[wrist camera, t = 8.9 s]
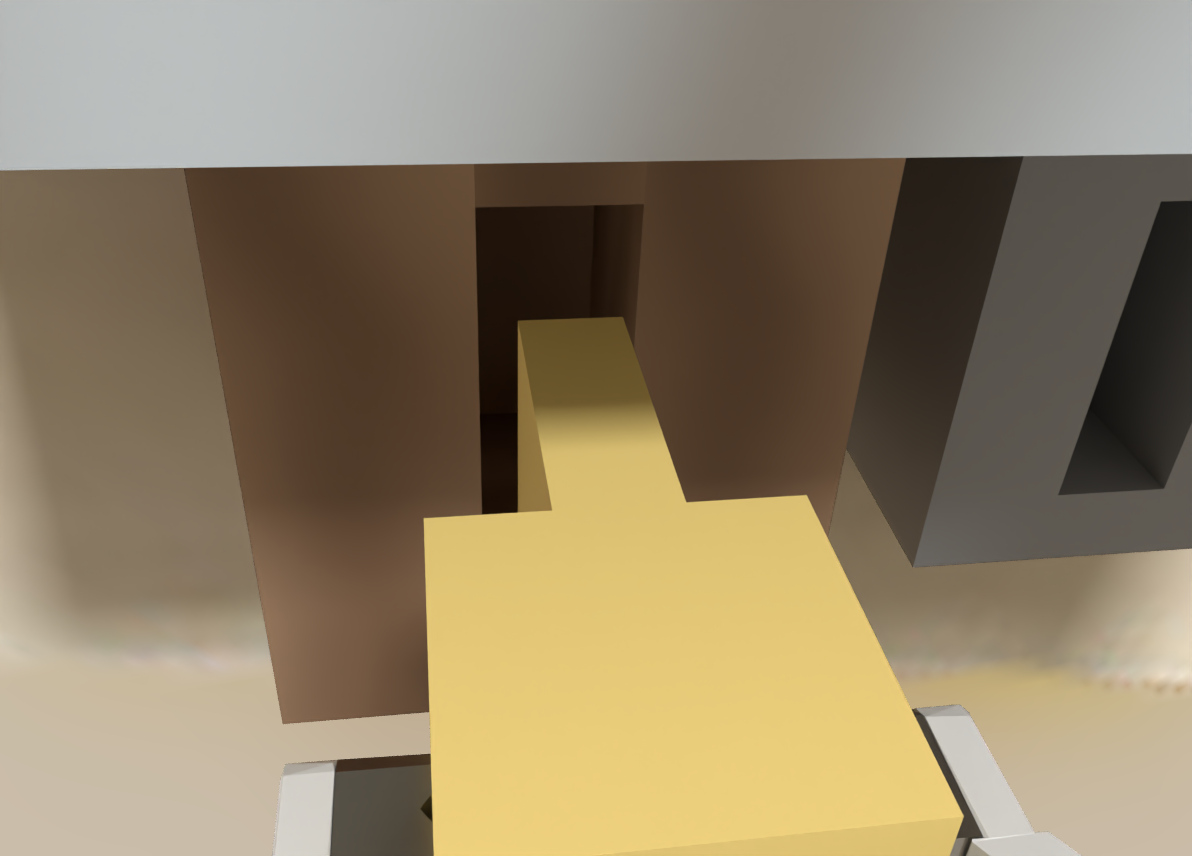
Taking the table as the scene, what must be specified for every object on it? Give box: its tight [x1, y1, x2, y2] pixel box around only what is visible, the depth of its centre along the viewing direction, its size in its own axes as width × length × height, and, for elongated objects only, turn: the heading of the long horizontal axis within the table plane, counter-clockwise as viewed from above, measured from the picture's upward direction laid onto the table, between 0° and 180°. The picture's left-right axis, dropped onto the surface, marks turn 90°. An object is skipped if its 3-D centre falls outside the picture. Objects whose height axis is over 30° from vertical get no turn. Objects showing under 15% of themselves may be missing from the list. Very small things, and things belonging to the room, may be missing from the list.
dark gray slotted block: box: [846, 154, 1192, 567], centre depth 25 cm, size 8×10×8 cm
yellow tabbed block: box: [424, 317, 964, 856], centre depth 13 cm, size 4×5×8 cm
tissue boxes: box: [0, 0, 1192, 724], centre depth 18 cm, size 22×16×18 cm
